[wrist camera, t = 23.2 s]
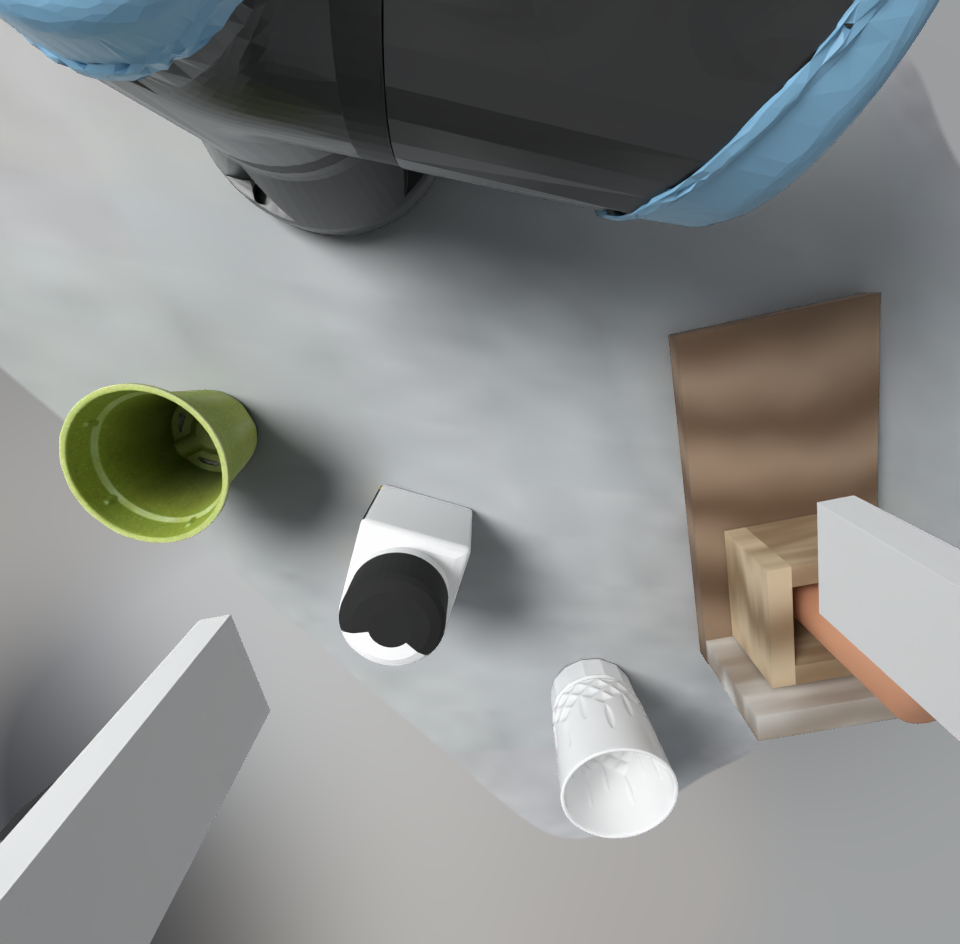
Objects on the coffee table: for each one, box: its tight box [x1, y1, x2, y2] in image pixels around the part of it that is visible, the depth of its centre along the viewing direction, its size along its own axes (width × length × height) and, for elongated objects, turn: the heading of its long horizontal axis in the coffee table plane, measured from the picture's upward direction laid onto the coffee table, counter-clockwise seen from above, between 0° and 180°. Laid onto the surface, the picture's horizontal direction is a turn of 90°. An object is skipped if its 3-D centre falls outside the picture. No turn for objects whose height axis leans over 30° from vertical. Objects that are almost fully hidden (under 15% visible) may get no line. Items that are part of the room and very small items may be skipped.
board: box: [669, 293, 897, 741], centre depth 35 cm, size 26×13×10 cm, turn 12°
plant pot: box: [59, 383, 257, 543], centre depth 34 cm, size 9×9×9 cm
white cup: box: [551, 659, 679, 838], centre depth 40 cm, size 8×8×10 cm
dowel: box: [792, 583, 936, 724], centre depth 33 cm, size 4×4×13 cm
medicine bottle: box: [339, 485, 472, 665], centre depth 35 cm, size 7×7×12 cm
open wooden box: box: [724, 514, 853, 688], centre depth 37 cm, size 9×9×6 cm
